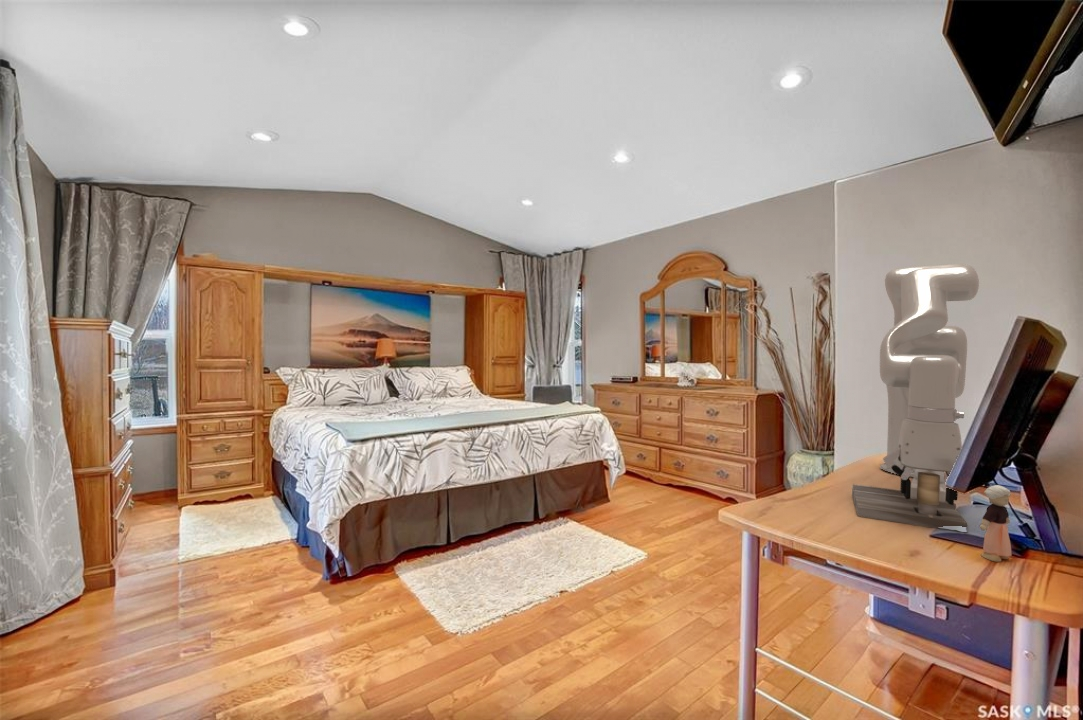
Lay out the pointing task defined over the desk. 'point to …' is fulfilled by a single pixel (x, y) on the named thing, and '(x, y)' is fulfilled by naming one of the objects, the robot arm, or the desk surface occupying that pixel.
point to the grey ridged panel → (901, 508)
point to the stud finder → (914, 492)
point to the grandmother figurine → (996, 525)
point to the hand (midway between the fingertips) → (927, 499)
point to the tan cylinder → (928, 493)
